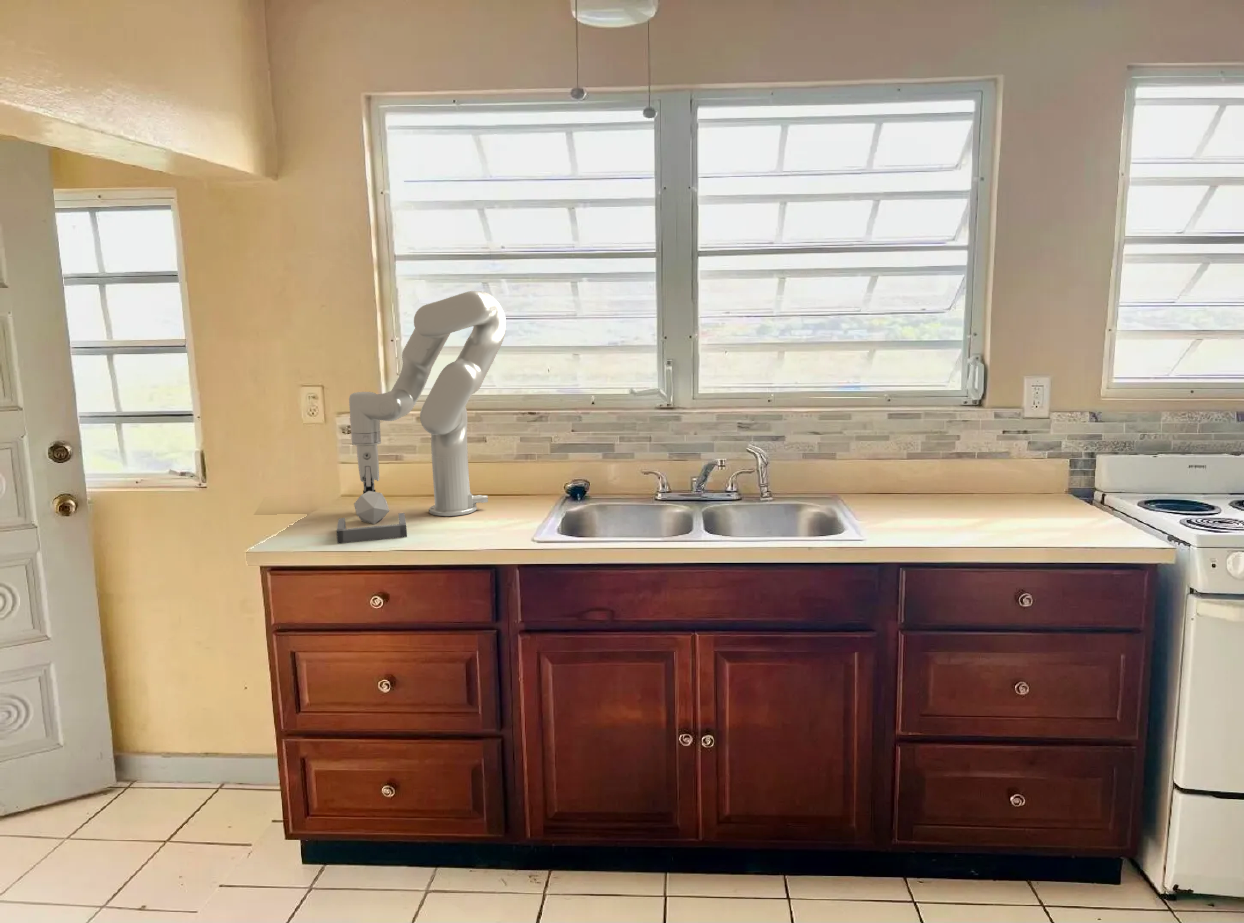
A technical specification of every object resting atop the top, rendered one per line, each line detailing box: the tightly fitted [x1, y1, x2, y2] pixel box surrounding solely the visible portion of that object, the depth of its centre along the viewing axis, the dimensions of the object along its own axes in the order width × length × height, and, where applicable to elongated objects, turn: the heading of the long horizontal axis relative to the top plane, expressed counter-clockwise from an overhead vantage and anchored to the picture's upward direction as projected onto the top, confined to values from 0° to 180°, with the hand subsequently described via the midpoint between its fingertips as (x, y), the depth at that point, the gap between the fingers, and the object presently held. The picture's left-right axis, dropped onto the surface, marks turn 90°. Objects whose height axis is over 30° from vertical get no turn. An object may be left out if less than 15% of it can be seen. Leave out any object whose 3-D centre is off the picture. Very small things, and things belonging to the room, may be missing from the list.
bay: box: [335, 512, 408, 544], centre depth 206 cm, size 16×13×3 cm
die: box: [353, 491, 390, 525], centre depth 218 cm, size 8×9×10 cm
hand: (370, 504), depth 228 cm, fingers closed
